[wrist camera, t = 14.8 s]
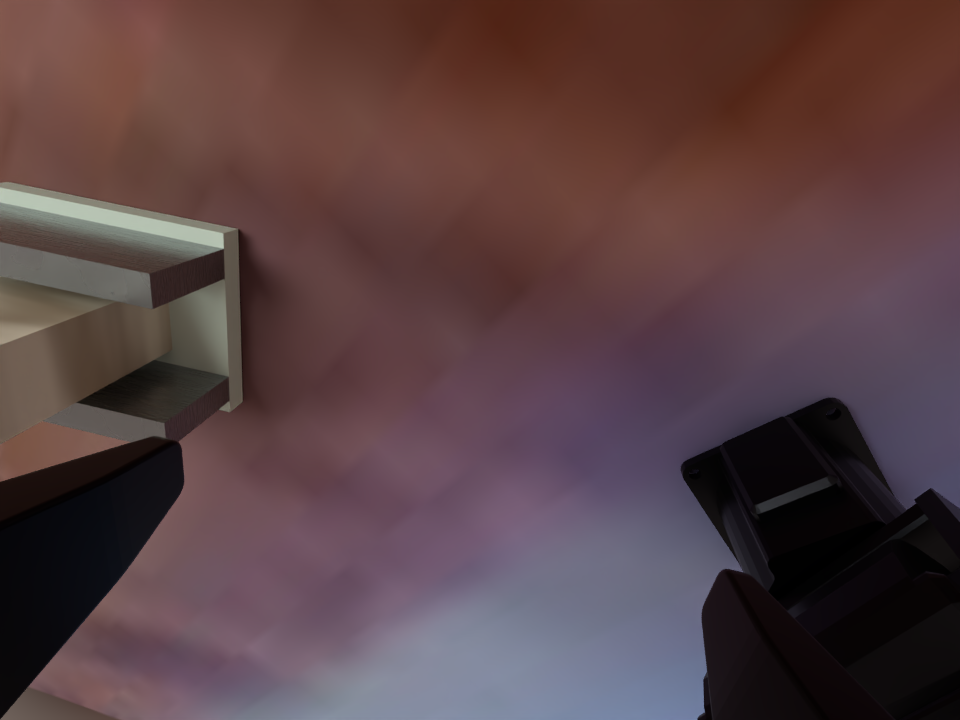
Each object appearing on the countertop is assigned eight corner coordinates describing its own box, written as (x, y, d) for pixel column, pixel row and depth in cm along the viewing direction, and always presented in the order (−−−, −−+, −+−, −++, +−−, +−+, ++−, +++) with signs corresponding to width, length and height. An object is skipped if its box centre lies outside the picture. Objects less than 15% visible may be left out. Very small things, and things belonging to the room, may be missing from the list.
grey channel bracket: (238, 229, 21) (147, 255, 16) (242, 401, 24) (168, 463, 20) (8, 182, 22) (-140, 194, 17) (43, 356, 25) (-73, 406, 20)
